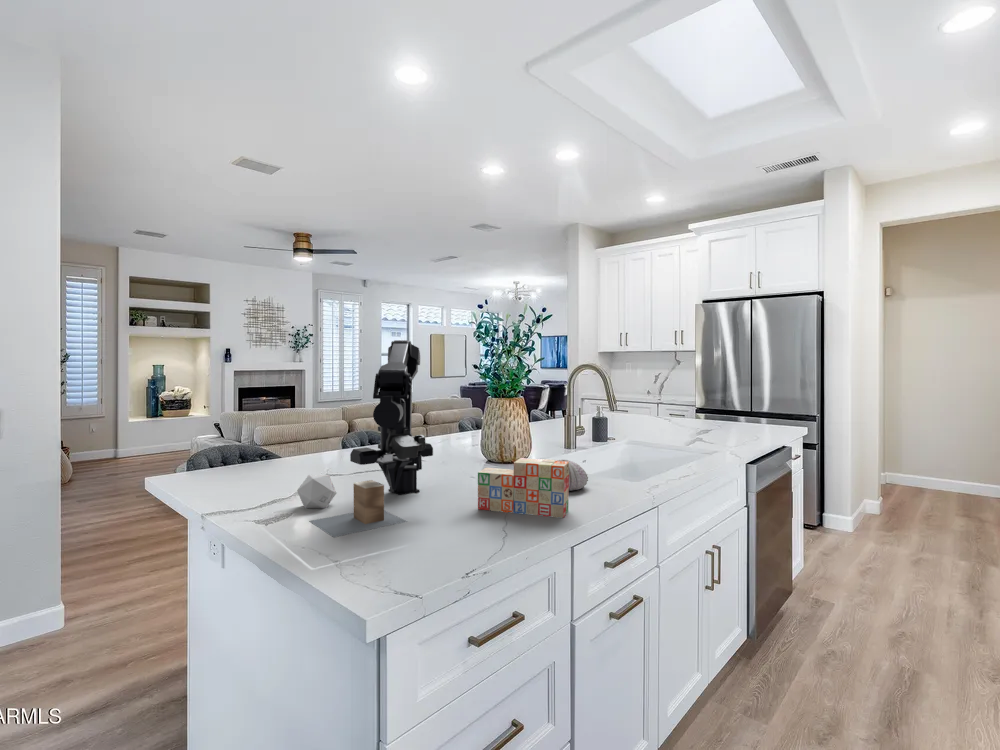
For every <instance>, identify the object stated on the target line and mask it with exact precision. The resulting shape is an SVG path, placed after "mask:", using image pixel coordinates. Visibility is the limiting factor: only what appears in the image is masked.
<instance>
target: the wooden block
mask: <svg viewBox="0 0 1000 750" xmlns="http://www.w3.org/2000/svg"><path fill="white" fill-rule="evenodd" d="M384 510H385V484H383V483H380V482H379V481H376V480H373V479H369V480H365V481H356V482H353V512H354V518H355V519H357V520H359V521H361V522H362V523H364V524H368V523H373V522H378V521H383V520H384Z"/></svg>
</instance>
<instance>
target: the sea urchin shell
mask: <svg viewBox="0 0 1000 750" xmlns="http://www.w3.org/2000/svg"><path fill="white" fill-rule="evenodd" d="M556 461H566V462H569V492H570V491H572V492H573V491H578V490H580V489H582V488H585V486H586V485H587V484H588V481H589V476H588V474H587V472H586V471H585V469H583V467H582V466H581V465H580V464H578V463H577V462H574V461H571V460H568V459H559V460H556Z"/></svg>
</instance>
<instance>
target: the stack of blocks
mask: <svg viewBox="0 0 1000 750" xmlns="http://www.w3.org/2000/svg"><path fill="white" fill-rule="evenodd" d="M569 493H570V491H569V462H566V461H557V460H556V459H547V458H545V459H541V458H540V459H539V458H537V459H536V458H523V457H520V458H518V459H517V460H515V461H514V462H513V469H508V468H498V467H497V468H495V467H485V468H483V469H482V470H480V471H477V497H478V498H477V510H481V511H482V510H483V511H490V510H491V512H499V511H503V512H502V513H508V512H512V513H511V514H519V513H523V514H522V515H529V514H533V515H532V516H539V515H543V516H542V517H548V516H553V517H552V518H558V517H560V518H559V519H563V518H565V517H564V516H566V515H567V513H568V512H569Z"/></svg>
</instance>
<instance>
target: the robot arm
mask: <svg viewBox="0 0 1000 750" xmlns="http://www.w3.org/2000/svg"><path fill="white" fill-rule="evenodd" d="M419 366H421V351H420V348H419V347H418V346H416V345H414V344H412V341H411V340H407V339H404V340H403V339H402V340H400V339H398V340H395V339H394V340H392V341H391V343H390V346H388V348H387V363H386V364H383V365H382V364H381V366H380V368H379V369H378V372H376V373H375V378H374V386H373V392H372V393H373V394H372V398H373V400H377V399H379V403H378V404H377V405H376V406H375V407H374V409H373V412H372V413H373V415H372V416H373V420H374V422H375V424H376V425H378V426H377V431H378V432H380V443H378V444H377V450H376V449H373V448H371V447H360V448H353V449H352V450H351V452H350V455H349V458H350V462H352V463H354V464H357V465H360V466H361V465H362V466H363V465H364V466H366V465H370V464H371V465H372V464H378V466H379V467H380V469H381V470H382V473H383V475H384V478H385V479H386V482H387V484H388V487H389V488H388V489H387V490H388V491H387V492H390V493H393V494H395V495H397V496H402V495H403V496H404V495H409V494H415V493H420V491H421V490H420V489H418V488H417V484H418V482H417V481H418V479H417V478H418V475H417V472H418V471H421V470H422V469H423V468H422V467H423V465H422V464H423V460H422V458H425V457H432V456H434V447H433V445H432V444H431V443H427V442H426V437H425V436H424V434H416V435H413V434H412V412H413V411H412V409H413V407H412V406H413V405H412V403H413V401H412V400H413V399H412V398H413V380H414V378H415V377H416V375H417V374H418V372H419V370H418V369H419Z"/></svg>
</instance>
